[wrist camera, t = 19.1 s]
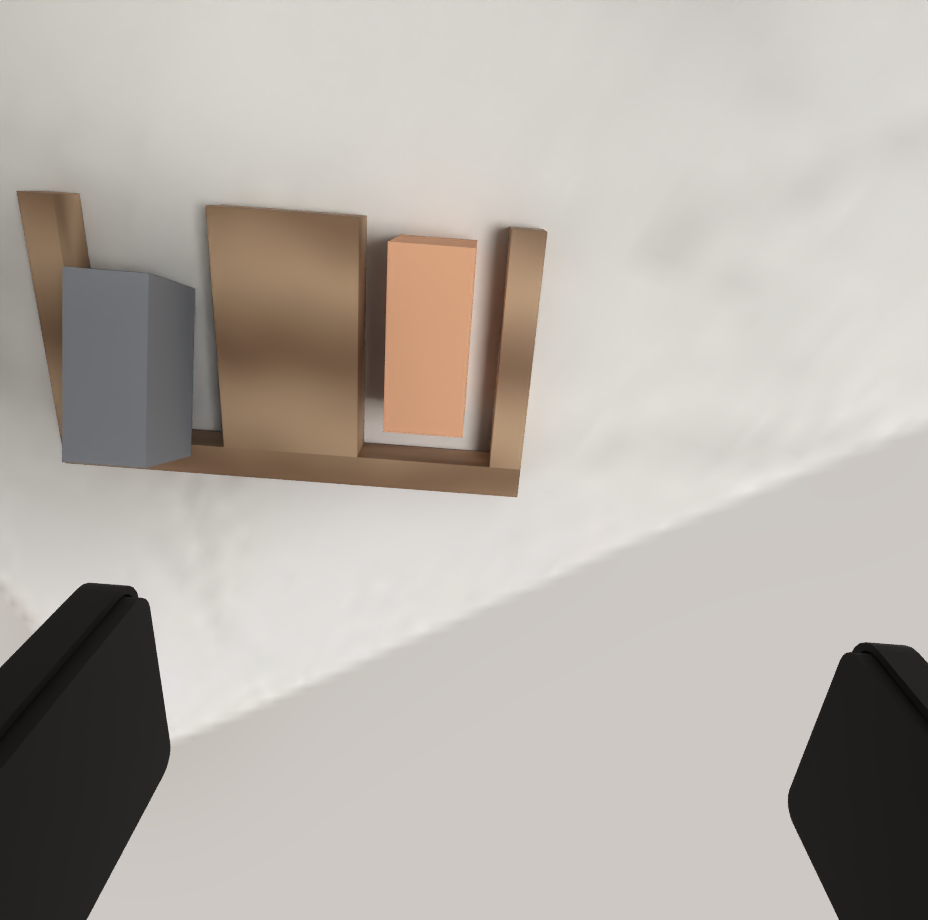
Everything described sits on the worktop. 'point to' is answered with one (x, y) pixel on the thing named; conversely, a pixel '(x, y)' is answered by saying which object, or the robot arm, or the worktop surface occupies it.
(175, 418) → the grey stub
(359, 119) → the worktop surface
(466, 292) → the terracotta stub
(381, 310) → the worktop surface
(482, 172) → the worktop surface
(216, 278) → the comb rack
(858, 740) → the robot arm
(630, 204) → the worktop surface
